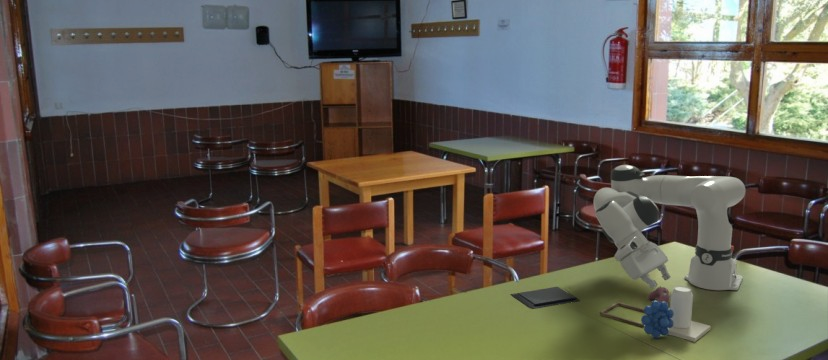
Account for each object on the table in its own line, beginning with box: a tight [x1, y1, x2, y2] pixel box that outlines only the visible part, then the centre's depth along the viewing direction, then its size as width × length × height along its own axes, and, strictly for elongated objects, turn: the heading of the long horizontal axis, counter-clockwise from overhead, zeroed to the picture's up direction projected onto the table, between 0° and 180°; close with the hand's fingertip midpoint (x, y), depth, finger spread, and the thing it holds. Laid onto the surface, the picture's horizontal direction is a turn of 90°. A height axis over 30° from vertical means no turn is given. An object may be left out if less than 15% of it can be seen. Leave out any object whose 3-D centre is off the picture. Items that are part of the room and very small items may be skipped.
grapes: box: [640, 299, 674, 339], centre depth 204 cm, size 12×7×12 cm, turn 112°
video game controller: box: [647, 285, 671, 304], centre depth 231 cm, size 10×5×7 cm, turn 170°
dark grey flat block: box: [509, 286, 581, 310], centre depth 238 cm, size 20×2×15 cm
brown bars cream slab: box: [599, 301, 712, 343], centre depth 218 cm, size 12×31×1 cm, turn 47°
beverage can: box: [669, 285, 694, 329], centre depth 210 cm, size 6×6×12 cm
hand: (661, 282), depth 213 cm, fingers open, 8 cm apart
